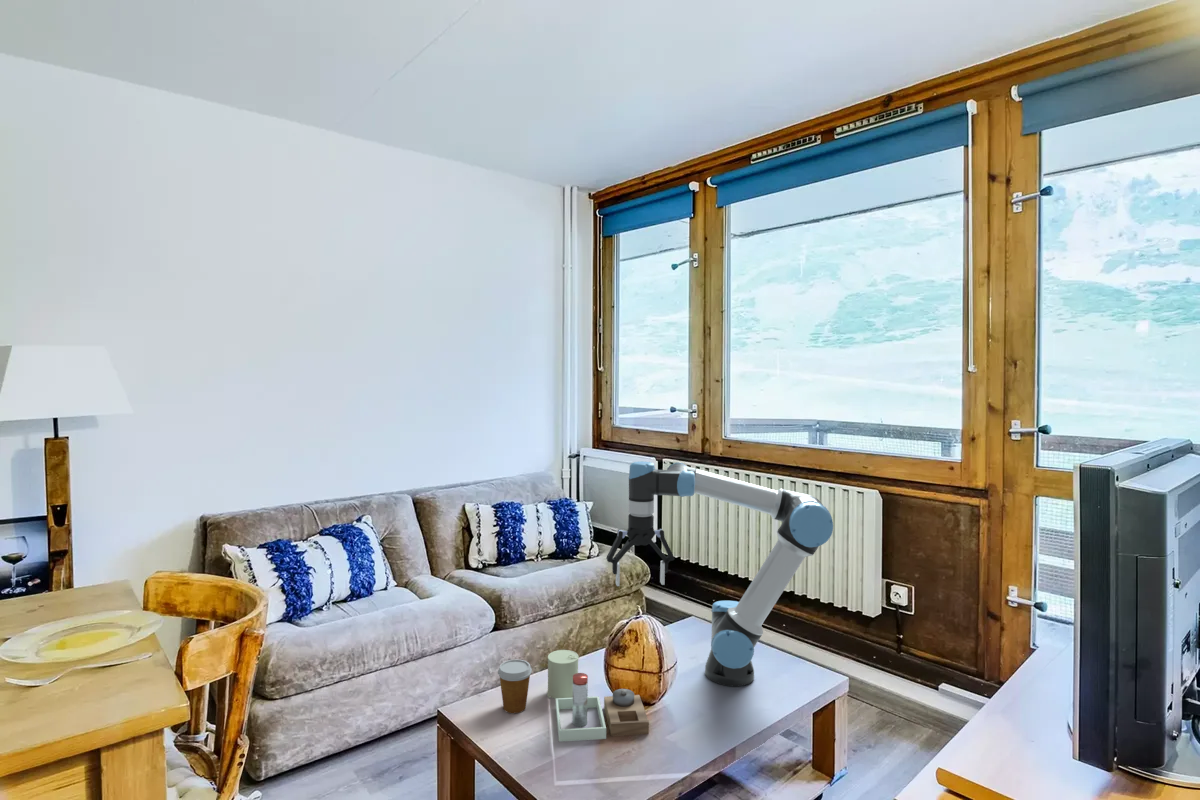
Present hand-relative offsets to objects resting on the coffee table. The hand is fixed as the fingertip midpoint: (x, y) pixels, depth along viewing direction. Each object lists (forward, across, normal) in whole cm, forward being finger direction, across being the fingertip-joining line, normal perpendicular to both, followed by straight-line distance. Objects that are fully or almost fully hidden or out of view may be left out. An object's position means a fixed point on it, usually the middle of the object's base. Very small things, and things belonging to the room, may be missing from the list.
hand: (640, 584), depth 193 cm
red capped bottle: (+31, +20, +19) cm, 41 cm away
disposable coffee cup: (+32, +37, +8) cm, 50 cm away
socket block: (+32, +7, +19) cm, 38 cm away
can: (+32, +23, +2) cm, 39 cm away
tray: (+32, +20, +19) cm, 42 cm away
